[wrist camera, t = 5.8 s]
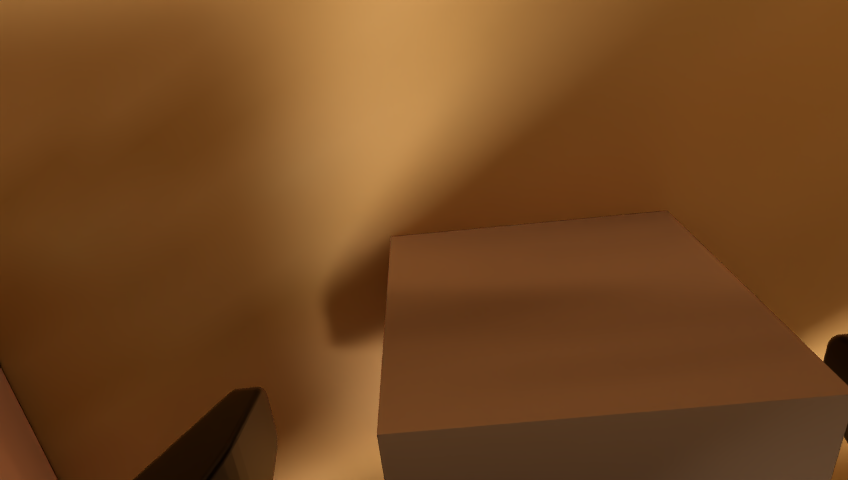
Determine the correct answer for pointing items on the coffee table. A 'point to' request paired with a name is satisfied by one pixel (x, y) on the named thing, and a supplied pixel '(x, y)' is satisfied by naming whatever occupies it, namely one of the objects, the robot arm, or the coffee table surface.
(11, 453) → the open square box
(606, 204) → the coffee table surface
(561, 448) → the walnut block
